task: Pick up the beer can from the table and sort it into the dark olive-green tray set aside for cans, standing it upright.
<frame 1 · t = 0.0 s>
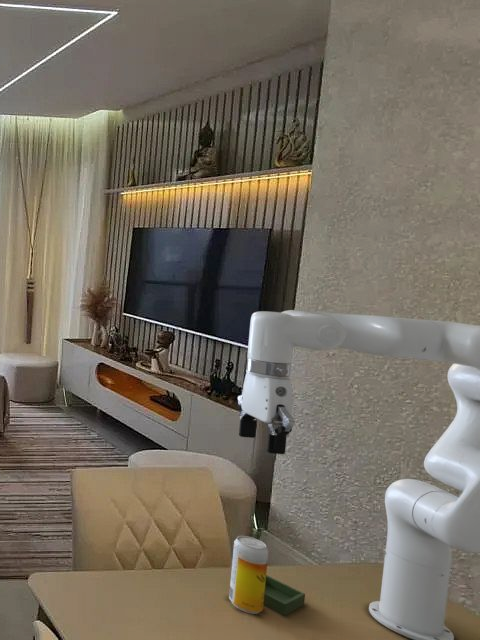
hand: (260, 444, 118), 37 cm above the table, tool pointing down, fingers open, 9 cm apart
beer can: (245, 607, 120), on the table
can tray: (271, 598, 123), on the table
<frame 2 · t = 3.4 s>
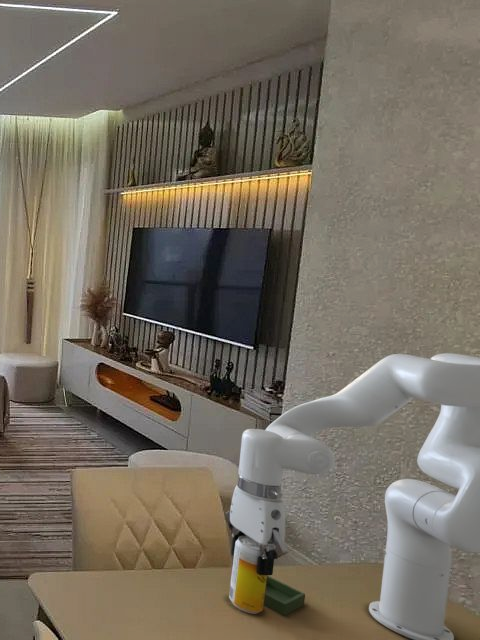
hand: (251, 564, 119), 10 cm above the table, tool pointing down, fingers closed on beer can, 6 cm apart
beer can: (245, 606, 120), on the table, touching gripper
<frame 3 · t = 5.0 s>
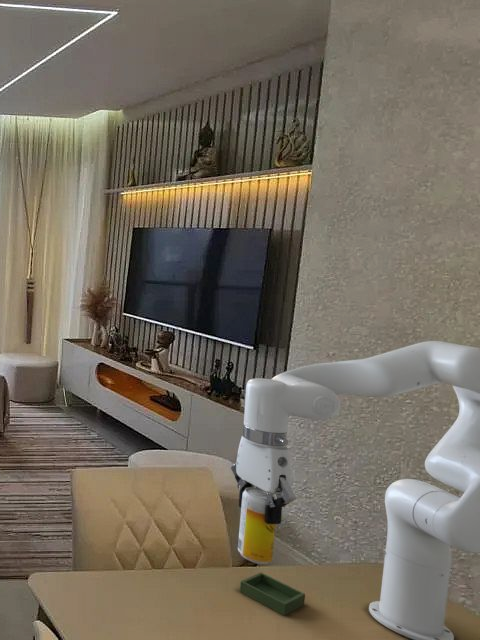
hand: (259, 514, 118), 22 cm above the table, tool pointing down, fingers closed on beer can, 6 cm apart
beer can: (254, 557, 119), point 11 cm above the table, touching gripper
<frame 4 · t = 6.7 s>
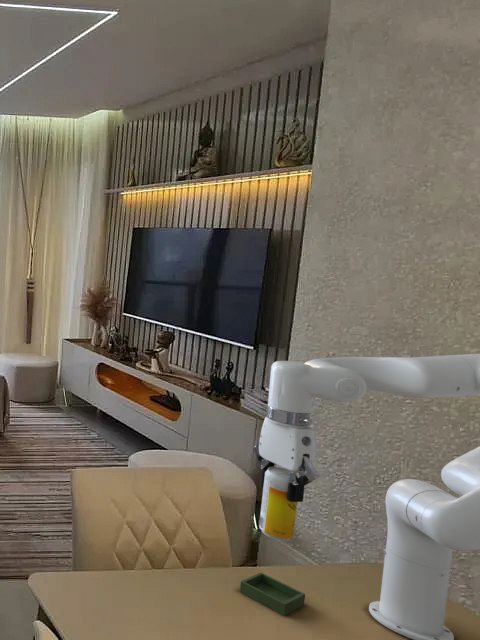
hand: (281, 493, 121), 25 cm above the table, tool pointing down, fingers closed on beer can, 6 cm apart
beer can: (275, 535, 123), point 15 cm above the table, touching gripper
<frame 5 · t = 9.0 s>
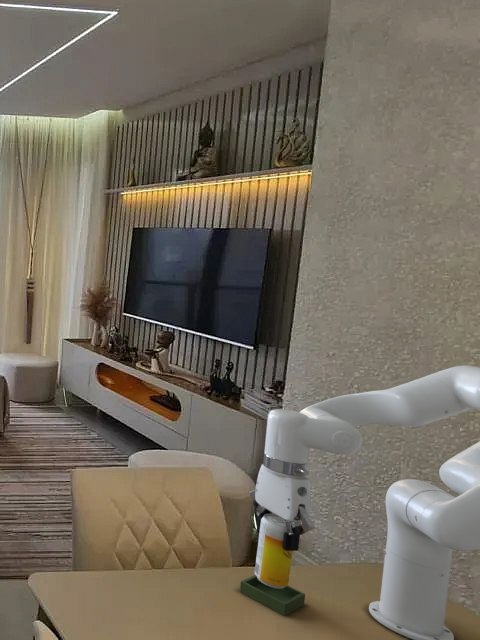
hand: (276, 540, 122), 14 cm above the table, tool pointing down, fingers closed on beer can, 6 cm apart
beer can: (270, 582, 123), point 4 cm above the table, touching gripper
when the fingers open (11 cm above the table, at t = 10.3 s): beer can stays where it is, resting on can tray.
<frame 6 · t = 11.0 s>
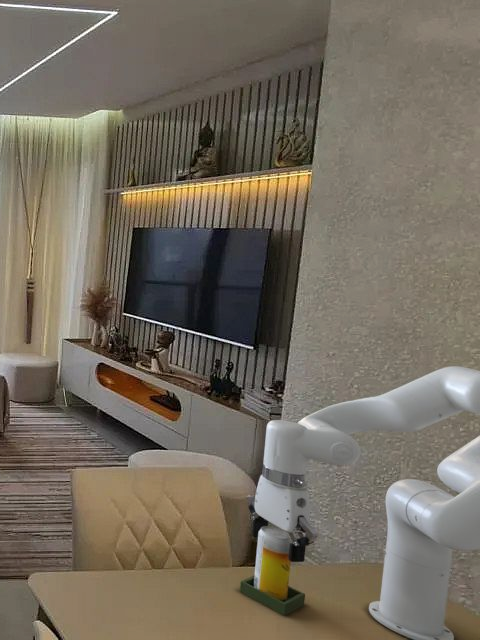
hand: (276, 548, 122), 12 cm above the table, tool pointing down, fingers open, 9 cm apart
beer can: (269, 595, 124), resting on can tray
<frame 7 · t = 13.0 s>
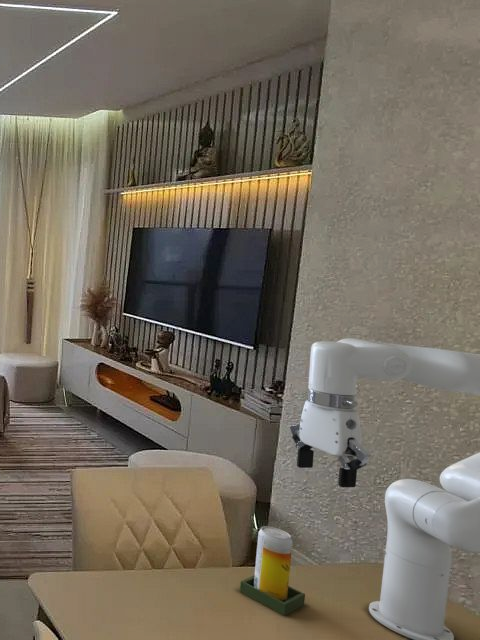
hand: (324, 476, 116), 31 cm above the table, tool pointing down, fingers open, 9 cm apart
nothing on the table moved.
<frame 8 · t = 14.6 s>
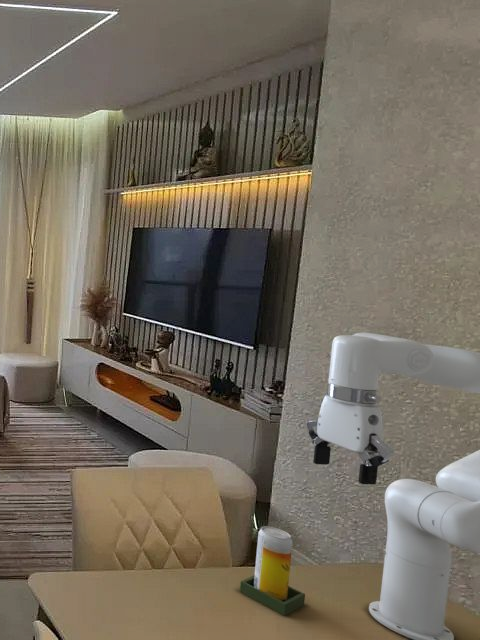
hand: (343, 473, 114), 33 cm above the table, tool pointing down, fingers open, 9 cm apart
nothing on the table moved.
at the end: beer can 0.4 cm off-centre in the can tray, point 0.4 cm above the can tray's base; beer can tilted 0°; the gripper is holding nothing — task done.
